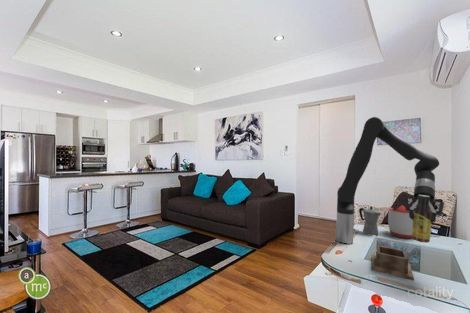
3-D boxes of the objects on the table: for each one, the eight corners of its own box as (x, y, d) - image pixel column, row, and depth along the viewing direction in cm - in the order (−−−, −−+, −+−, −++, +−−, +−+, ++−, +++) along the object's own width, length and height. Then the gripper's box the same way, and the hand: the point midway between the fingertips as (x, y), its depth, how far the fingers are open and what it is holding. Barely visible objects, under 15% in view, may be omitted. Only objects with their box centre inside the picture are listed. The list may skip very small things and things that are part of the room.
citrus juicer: (404, 231, 160) (405, 203, 160) (422, 240, 143) (423, 208, 143) (381, 230, 162) (382, 201, 162) (396, 238, 144) (396, 207, 144)
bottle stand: (371, 269, 103) (372, 253, 103) (372, 257, 116) (372, 242, 116) (413, 280, 95) (414, 262, 95) (409, 265, 108) (409, 249, 108)
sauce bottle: (408, 238, 103) (409, 193, 103) (421, 238, 103) (422, 194, 103) (421, 243, 96) (422, 196, 96) (434, 243, 97) (436, 196, 97)
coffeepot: (384, 235, 150) (385, 208, 150) (375, 237, 146) (376, 209, 146) (363, 228, 164) (363, 203, 164) (354, 230, 160) (354, 204, 160)
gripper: (404, 183, 110) (400, 211, 101) (445, 186, 101) (444, 218, 92) (405, 193, 114) (401, 221, 105) (444, 197, 105) (444, 229, 96)
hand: (421, 220), depth 99 cm, fingers closed on sauce bottle, 6 cm apart
